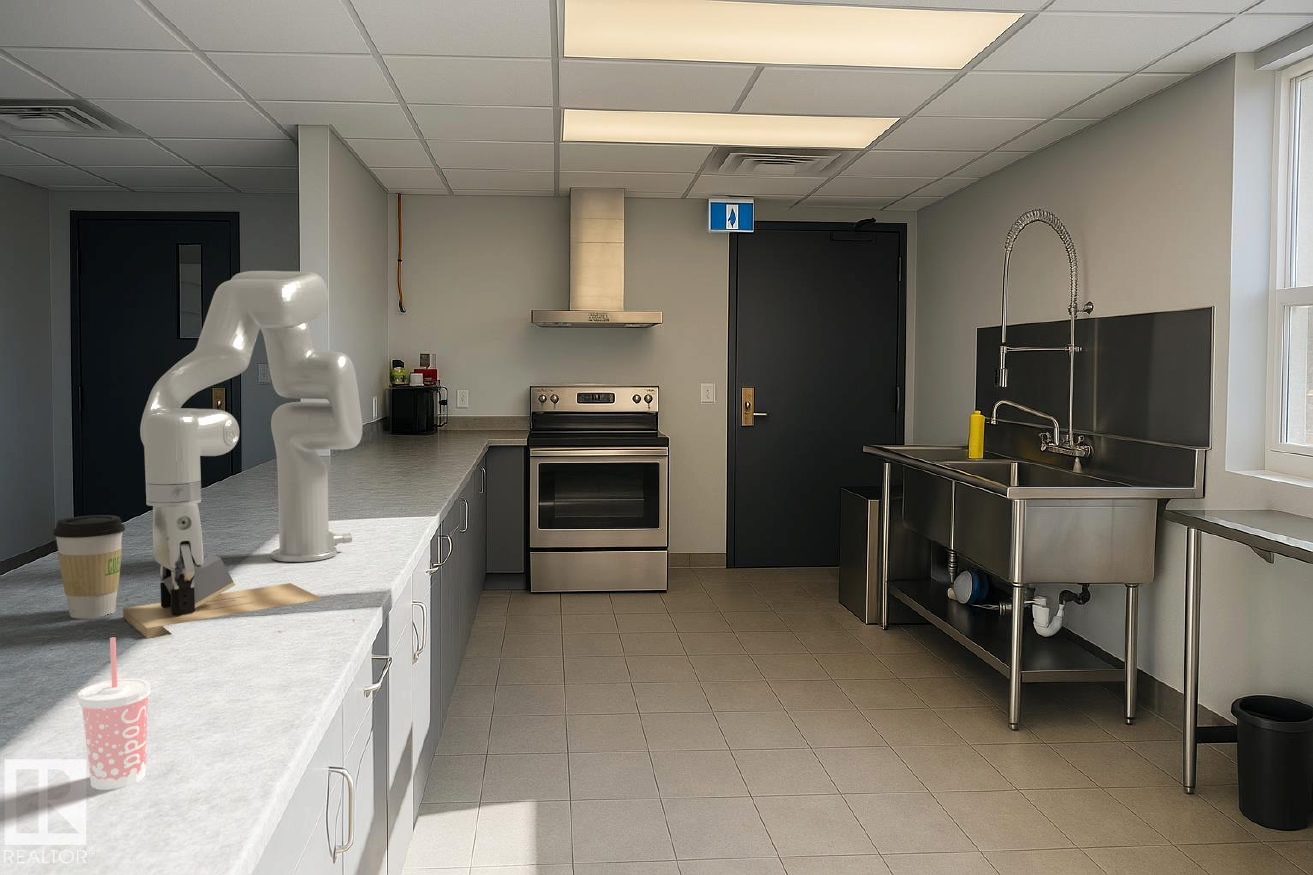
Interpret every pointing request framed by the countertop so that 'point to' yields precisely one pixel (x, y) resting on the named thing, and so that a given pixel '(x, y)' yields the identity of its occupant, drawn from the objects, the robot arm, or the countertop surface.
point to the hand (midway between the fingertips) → (177, 608)
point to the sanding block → (207, 580)
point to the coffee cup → (90, 563)
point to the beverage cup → (115, 728)
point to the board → (216, 607)
